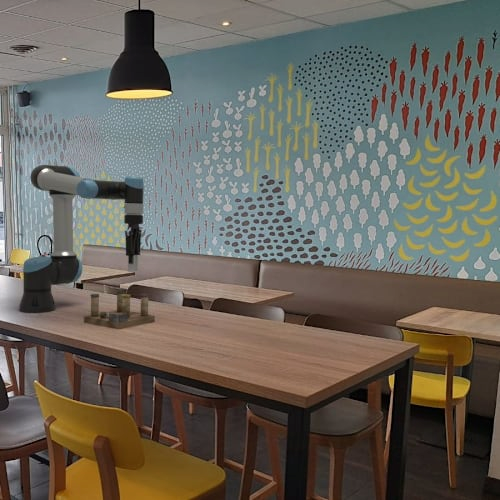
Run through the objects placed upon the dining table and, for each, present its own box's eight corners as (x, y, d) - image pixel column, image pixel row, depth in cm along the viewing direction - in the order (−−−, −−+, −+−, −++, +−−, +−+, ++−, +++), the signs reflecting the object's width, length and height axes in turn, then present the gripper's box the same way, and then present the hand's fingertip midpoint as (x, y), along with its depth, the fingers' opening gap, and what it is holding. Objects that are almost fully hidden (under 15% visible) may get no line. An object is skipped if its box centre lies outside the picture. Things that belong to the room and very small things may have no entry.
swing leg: (100, 317, 230) (100, 295, 229) (100, 316, 233) (100, 294, 232) (130, 317, 233) (130, 295, 232) (129, 315, 236) (130, 294, 235)
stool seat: (83, 322, 234) (84, 294, 233) (120, 315, 250) (121, 289, 249) (118, 329, 223) (118, 300, 222) (154, 321, 239) (155, 294, 238)
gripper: (132, 213, 246) (131, 268, 248) (117, 214, 231) (116, 272, 232) (148, 214, 245) (148, 269, 247) (135, 214, 229) (134, 273, 231)
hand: (132, 270), depth 240 cm, fingers open, 3 cm apart
